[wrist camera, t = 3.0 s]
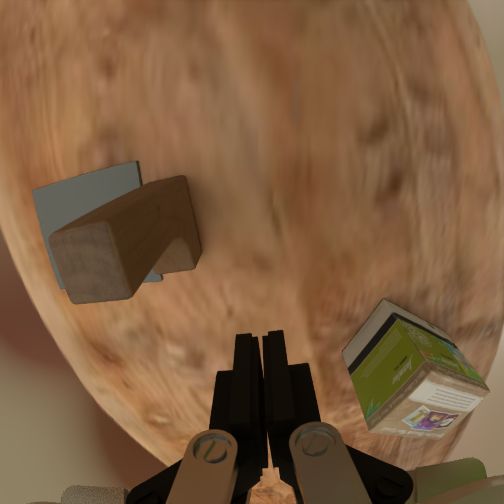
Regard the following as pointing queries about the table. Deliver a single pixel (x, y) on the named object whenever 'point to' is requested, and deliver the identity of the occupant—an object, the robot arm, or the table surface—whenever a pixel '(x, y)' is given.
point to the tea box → (410, 376)
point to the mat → (83, 201)
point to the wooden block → (127, 242)
